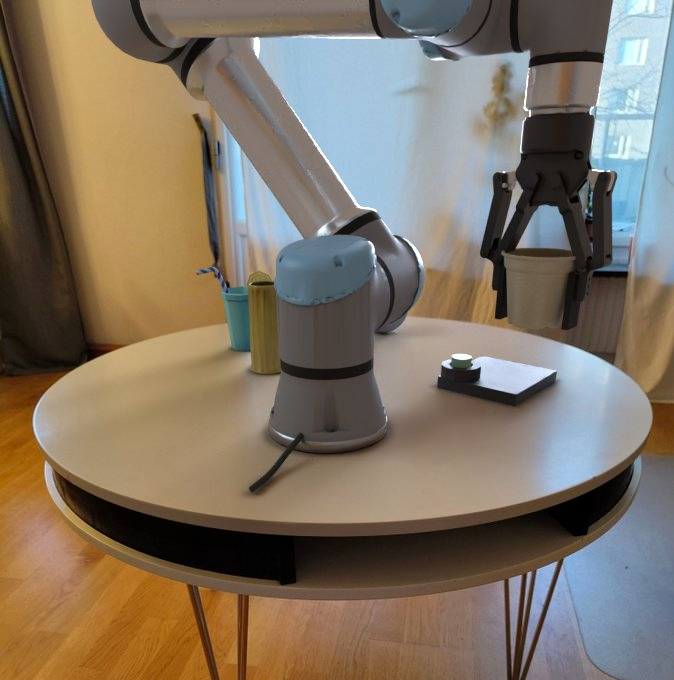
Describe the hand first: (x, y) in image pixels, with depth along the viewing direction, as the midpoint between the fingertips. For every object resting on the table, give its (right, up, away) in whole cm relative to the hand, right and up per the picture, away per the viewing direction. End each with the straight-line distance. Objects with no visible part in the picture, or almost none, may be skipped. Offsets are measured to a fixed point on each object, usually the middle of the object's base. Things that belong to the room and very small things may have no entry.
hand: (534, 322), depth 76 cm
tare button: (-6, -3, +18) cm, 19 cm away
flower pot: (0, 0, 0) cm, 0 cm away
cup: (-43, +3, +40) cm, 59 cm away
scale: (0, -6, +20) cm, 20 cm away
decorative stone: (-15, +8, +50) cm, 53 cm away
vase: (-36, -2, +28) cm, 46 cm away
